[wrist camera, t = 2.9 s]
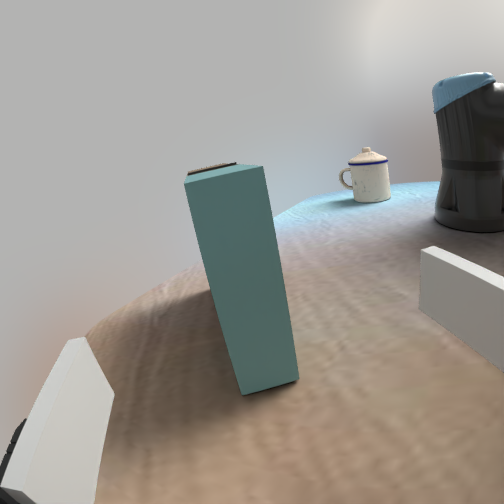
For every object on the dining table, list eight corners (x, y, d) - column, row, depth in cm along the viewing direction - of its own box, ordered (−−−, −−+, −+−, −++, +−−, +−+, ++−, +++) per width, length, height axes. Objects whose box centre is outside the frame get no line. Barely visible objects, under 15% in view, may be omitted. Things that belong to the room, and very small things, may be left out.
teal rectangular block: (227, 334, 27) (186, 176, 22) (271, 323, 27) (239, 164, 23) (242, 395, 19) (183, 183, 15) (299, 379, 20) (263, 166, 15)
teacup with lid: (394, 194, 67) (388, 145, 63) (388, 203, 60) (381, 147, 56) (347, 195, 74) (341, 149, 70) (336, 204, 67) (328, 152, 63)
